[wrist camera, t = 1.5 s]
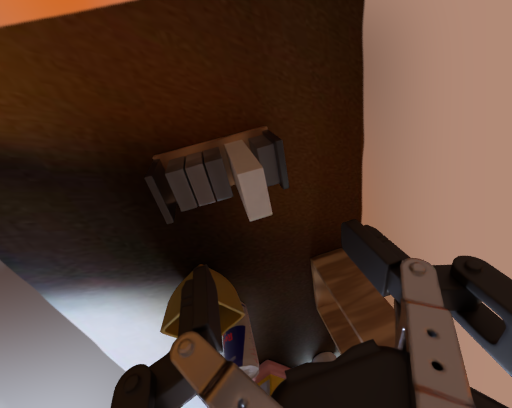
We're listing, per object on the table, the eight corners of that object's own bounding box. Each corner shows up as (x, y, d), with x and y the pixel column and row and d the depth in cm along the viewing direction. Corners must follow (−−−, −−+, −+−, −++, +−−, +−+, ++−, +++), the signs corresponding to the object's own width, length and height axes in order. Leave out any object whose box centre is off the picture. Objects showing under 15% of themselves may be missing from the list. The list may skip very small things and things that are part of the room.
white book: (241, 139, 30) (263, 167, 20) (250, 175, 33) (272, 214, 23) (224, 144, 30) (237, 174, 20) (234, 180, 32) (249, 221, 23)
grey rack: (265, 125, 31) (282, 136, 25) (273, 170, 34) (289, 190, 28) (153, 155, 29) (142, 175, 23) (173, 199, 33) (168, 226, 27)
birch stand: (310, 257, 44) (393, 389, 26) (341, 247, 45) (445, 368, 26) (315, 307, 52) (382, 435, 34) (342, 297, 53) (422, 418, 34)
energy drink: (218, 303, 45) (224, 370, 34) (245, 297, 46) (259, 360, 35) (221, 320, 47) (229, 387, 37) (247, 314, 48) (261, 378, 38)
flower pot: (199, 249, 38) (200, 293, 30) (237, 271, 42) (246, 315, 34) (165, 283, 40) (158, 332, 32) (205, 301, 44) (207, 349, 36)
